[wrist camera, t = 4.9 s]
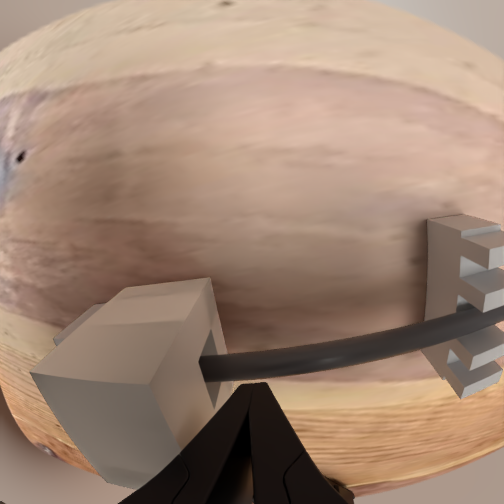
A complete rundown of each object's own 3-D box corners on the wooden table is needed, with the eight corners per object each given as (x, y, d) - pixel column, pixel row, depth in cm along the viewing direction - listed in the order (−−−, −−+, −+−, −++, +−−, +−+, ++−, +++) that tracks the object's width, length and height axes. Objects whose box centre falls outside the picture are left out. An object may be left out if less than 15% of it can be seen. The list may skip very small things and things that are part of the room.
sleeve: (210, 277, 12) (149, 384, 5) (234, 379, 13) (212, 499, 6) (125, 287, 12) (29, 371, 6) (158, 381, 13) (106, 482, 7)
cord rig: (464, 214, 11) (534, 234, 6) (454, 339, 13) (500, 388, 8) (83, 269, 13) (20, 307, 8) (125, 382, 15) (89, 439, 10)
